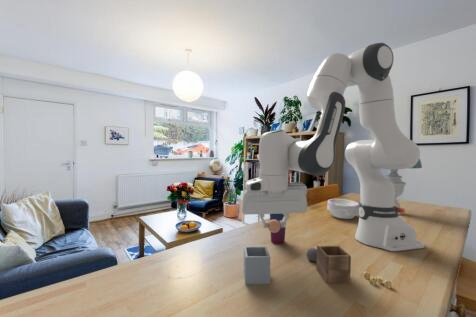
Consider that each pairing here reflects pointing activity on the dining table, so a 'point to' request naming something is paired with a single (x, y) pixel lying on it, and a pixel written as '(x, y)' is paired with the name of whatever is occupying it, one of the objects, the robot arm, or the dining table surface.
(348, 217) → the white purple floral bowl
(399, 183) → the table lamp
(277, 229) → the terracotta ball
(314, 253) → the charcoal ball
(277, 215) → the cup
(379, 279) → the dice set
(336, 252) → the walnut tube
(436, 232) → the dining table surface
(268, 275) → the grey square open box
